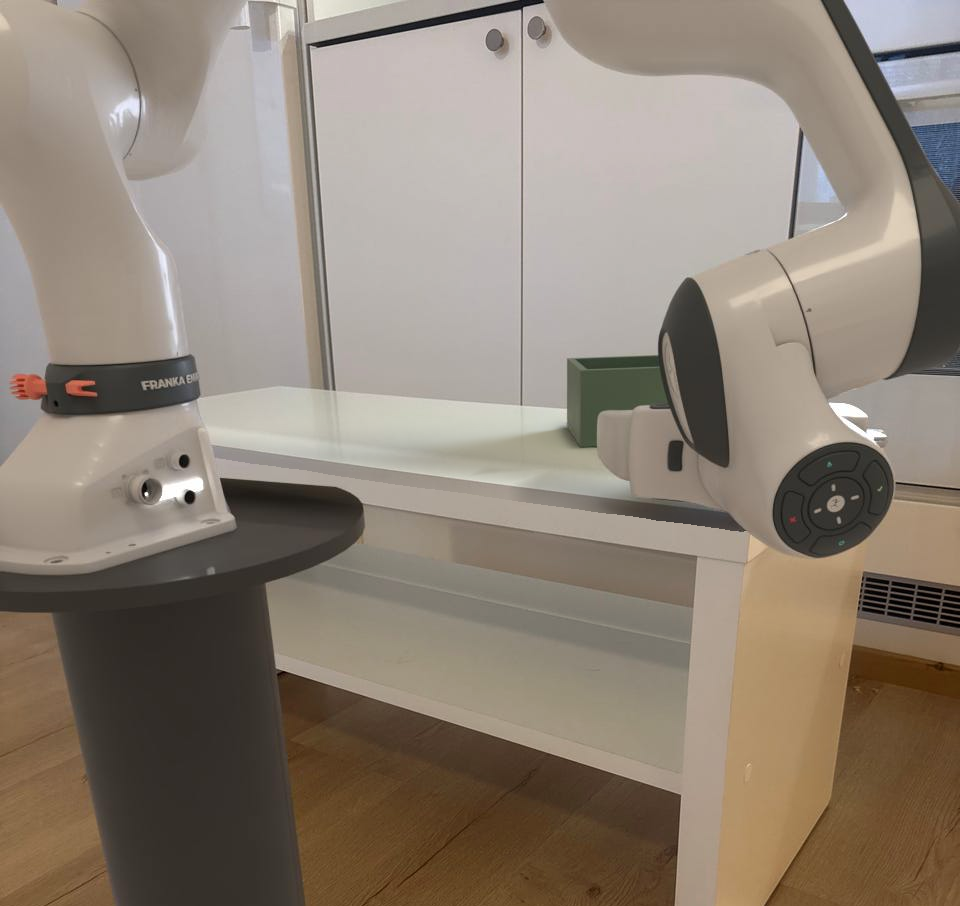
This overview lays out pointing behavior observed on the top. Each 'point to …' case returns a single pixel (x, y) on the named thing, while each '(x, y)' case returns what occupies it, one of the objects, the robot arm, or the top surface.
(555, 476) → the top surface
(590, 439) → the storage box
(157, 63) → the robot arm
